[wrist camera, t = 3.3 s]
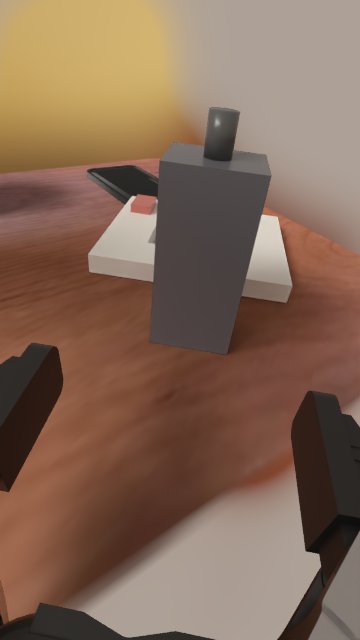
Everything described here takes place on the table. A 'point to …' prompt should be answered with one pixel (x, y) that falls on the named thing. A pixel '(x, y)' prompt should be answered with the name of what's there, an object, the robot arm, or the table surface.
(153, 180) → the phone
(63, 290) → the table surface
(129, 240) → the socket plate
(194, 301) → the plug
